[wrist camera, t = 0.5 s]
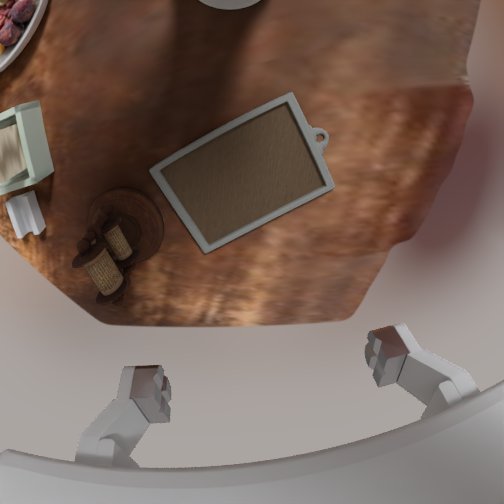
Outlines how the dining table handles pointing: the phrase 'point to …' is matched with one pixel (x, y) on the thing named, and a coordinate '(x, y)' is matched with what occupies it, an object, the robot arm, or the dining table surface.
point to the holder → (25, 214)
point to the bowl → (18, 26)
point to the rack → (28, 145)
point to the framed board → (245, 172)
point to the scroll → (118, 240)
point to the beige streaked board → (11, 153)
